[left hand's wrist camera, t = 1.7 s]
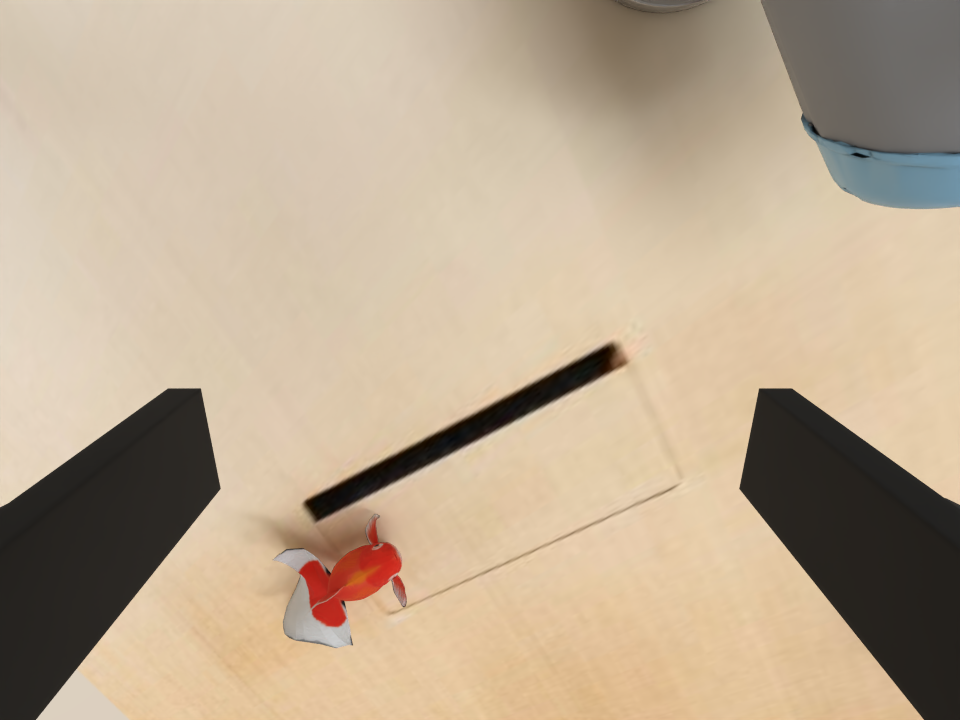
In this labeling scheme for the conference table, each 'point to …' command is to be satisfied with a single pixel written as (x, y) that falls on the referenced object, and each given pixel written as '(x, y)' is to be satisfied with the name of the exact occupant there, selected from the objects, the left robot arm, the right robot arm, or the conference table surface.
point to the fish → (337, 588)
